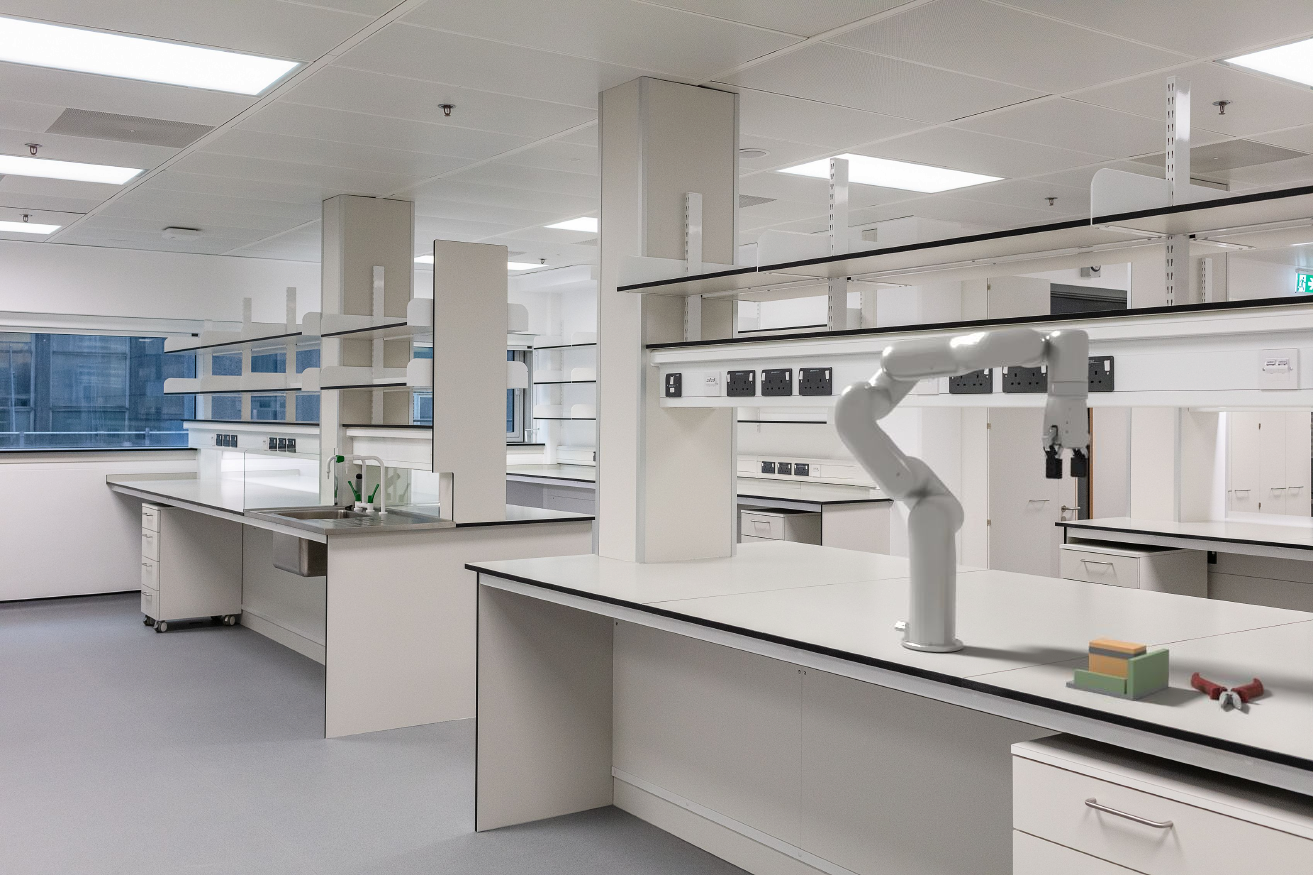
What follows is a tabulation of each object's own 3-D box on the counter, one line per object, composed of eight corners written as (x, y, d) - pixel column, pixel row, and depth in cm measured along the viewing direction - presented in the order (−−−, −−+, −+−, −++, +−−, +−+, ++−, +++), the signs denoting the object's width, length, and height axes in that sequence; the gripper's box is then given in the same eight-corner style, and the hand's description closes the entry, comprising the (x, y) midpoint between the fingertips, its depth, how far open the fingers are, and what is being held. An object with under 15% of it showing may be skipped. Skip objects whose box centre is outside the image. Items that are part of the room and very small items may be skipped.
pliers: (1192, 710, 176) (1192, 694, 176) (1190, 683, 194) (1190, 669, 194) (1271, 719, 171) (1271, 703, 171) (1261, 691, 189) (1262, 677, 189)
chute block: (1088, 680, 190) (1088, 641, 190) (1101, 675, 194) (1102, 637, 194) (1133, 689, 184) (1133, 649, 184) (1146, 684, 188) (1146, 645, 188)
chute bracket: (1066, 686, 189) (1066, 648, 189) (1103, 674, 198) (1103, 638, 198) (1132, 700, 180) (1133, 660, 180) (1168, 687, 189) (1169, 649, 189)
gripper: (1071, 393, 218) (1070, 475, 218) (1027, 391, 207) (1026, 478, 207) (1106, 392, 212) (1105, 477, 213) (1063, 390, 201) (1062, 480, 201)
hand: (1066, 477), depth 210 cm, fingers open, 9 cm apart
